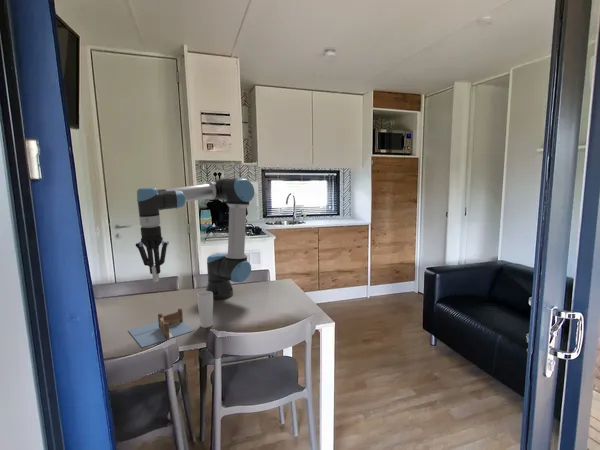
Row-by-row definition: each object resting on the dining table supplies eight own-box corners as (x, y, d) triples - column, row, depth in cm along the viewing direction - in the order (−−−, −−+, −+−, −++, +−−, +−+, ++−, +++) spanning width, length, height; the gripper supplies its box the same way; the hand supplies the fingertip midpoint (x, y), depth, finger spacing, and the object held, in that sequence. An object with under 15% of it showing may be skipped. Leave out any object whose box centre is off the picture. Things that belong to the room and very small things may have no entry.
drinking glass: (200, 322, 151) (198, 291, 149) (215, 321, 151) (214, 290, 149) (197, 329, 144) (195, 296, 142) (213, 328, 145) (211, 295, 142)
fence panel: (158, 326, 146) (157, 314, 145) (162, 325, 147) (161, 313, 146) (165, 338, 135) (164, 325, 134) (169, 337, 136) (169, 323, 135)
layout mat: (128, 330, 143) (128, 330, 143) (176, 316, 157) (176, 316, 157) (142, 347, 129) (141, 347, 129) (193, 330, 143) (193, 330, 143)
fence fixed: (163, 325, 147) (162, 313, 146) (182, 320, 152) (181, 308, 151) (165, 327, 146) (164, 314, 145) (183, 321, 151) (182, 309, 150)
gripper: (130, 228, 131) (136, 284, 135) (163, 227, 132) (169, 283, 136) (138, 224, 139) (144, 278, 143) (169, 223, 139) (174, 277, 144)
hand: (156, 280), depth 139 cm, fingers closed
